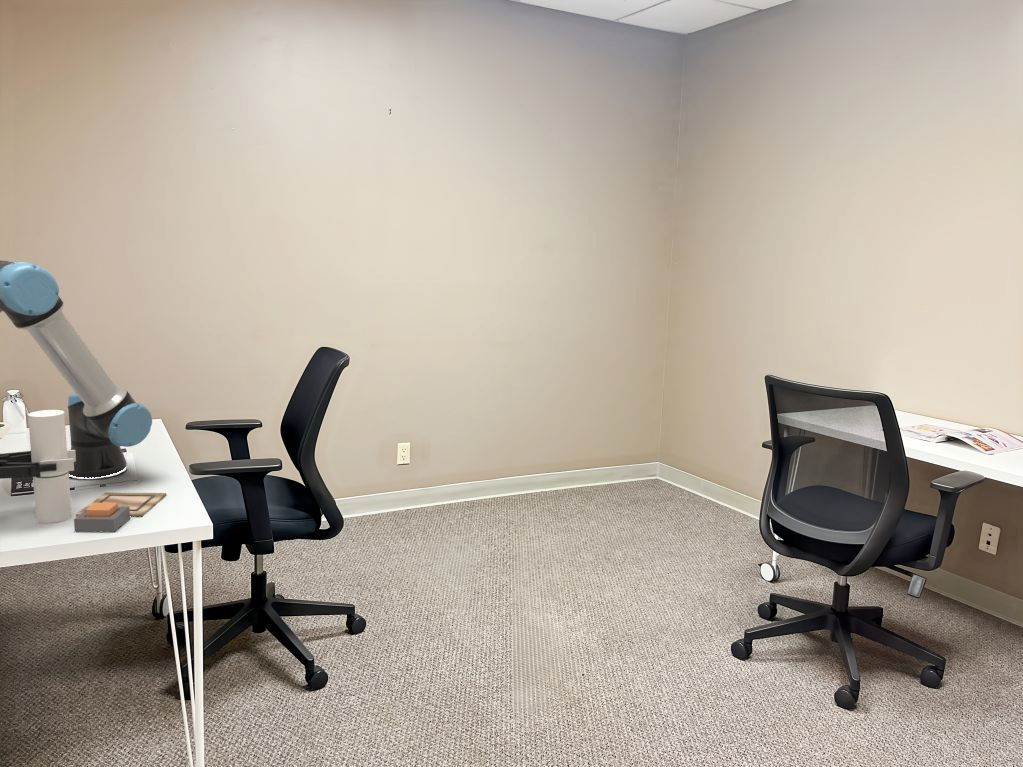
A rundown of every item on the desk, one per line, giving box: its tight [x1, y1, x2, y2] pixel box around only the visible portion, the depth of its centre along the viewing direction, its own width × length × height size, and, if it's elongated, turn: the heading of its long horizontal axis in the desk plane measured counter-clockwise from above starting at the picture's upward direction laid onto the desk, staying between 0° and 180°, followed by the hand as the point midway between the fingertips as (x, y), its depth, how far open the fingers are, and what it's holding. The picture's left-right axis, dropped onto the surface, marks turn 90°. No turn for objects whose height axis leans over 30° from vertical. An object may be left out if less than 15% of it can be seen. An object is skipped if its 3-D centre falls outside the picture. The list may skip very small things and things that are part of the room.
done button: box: [86, 503, 118, 517], centre depth 179 cm, size 5×5×3 cm
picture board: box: [75, 491, 167, 518], centre depth 193 cm, size 16×15×1 cm
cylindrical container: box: [27, 409, 72, 524], centre depth 181 cm, size 7×7×25 cm
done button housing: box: [73, 506, 131, 533], centre depth 179 cm, size 9×9×3 cm
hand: (74, 459), depth 183 cm, fingers closed on cylindrical container, 7 cm apart
